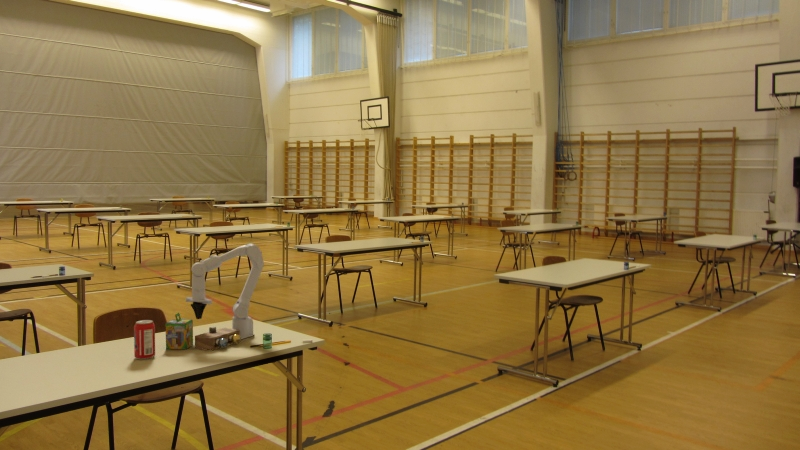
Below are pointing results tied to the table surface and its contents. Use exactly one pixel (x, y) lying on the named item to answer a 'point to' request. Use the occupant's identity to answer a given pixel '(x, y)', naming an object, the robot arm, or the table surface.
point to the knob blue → (221, 342)
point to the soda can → (144, 339)
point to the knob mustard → (234, 338)
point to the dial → (212, 329)
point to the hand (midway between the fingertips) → (198, 318)
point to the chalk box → (179, 333)
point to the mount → (208, 339)
